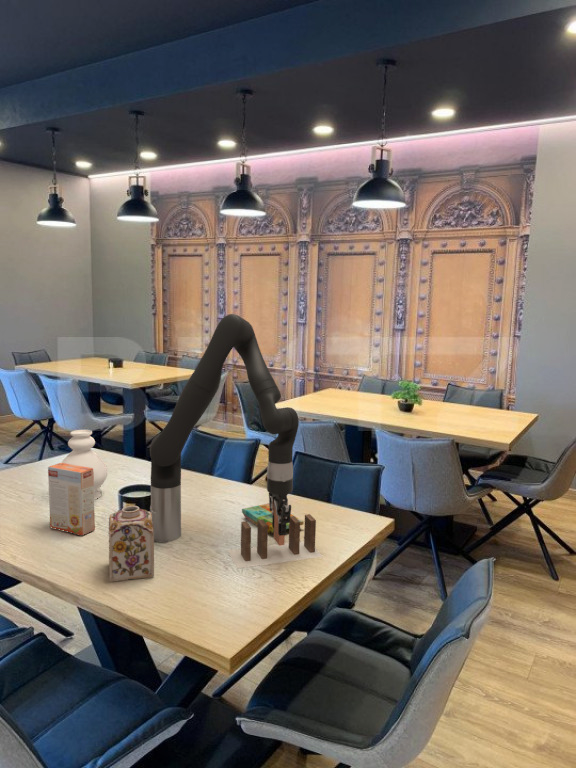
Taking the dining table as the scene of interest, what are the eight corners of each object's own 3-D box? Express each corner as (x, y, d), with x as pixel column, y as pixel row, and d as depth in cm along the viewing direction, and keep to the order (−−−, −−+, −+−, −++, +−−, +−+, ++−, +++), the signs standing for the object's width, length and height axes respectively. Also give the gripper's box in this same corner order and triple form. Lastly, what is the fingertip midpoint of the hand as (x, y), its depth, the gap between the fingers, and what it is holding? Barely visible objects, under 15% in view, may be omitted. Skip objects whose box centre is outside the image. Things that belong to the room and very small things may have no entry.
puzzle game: (270, 500, 201) (303, 518, 184) (270, 512, 201) (303, 532, 185) (242, 506, 194) (273, 526, 178) (241, 519, 195) (273, 540, 178)
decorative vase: (46, 500, 207) (44, 434, 203) (80, 486, 223) (78, 424, 220) (86, 508, 201) (84, 439, 197) (117, 493, 217) (116, 429, 213)
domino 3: (279, 545, 165) (279, 512, 163) (273, 538, 170) (274, 507, 168) (284, 544, 165) (285, 512, 164) (278, 538, 170) (279, 506, 169)
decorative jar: (154, 578, 152) (153, 514, 149) (109, 583, 148) (107, 518, 146) (152, 558, 163) (151, 499, 160) (109, 563, 160) (108, 502, 157)
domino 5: (309, 552, 168) (310, 520, 167) (303, 545, 173) (304, 514, 172) (314, 552, 169) (315, 520, 168) (308, 545, 174) (309, 514, 172)
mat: (237, 569, 158) (237, 568, 157) (227, 551, 169) (227, 550, 169) (323, 557, 166) (323, 556, 166) (308, 541, 177) (308, 540, 177)
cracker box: (96, 530, 182) (94, 467, 179) (82, 537, 176) (80, 472, 173) (63, 522, 188) (61, 461, 185) (49, 528, 182) (46, 466, 179)
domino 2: (261, 559, 163) (262, 526, 162) (257, 551, 168) (257, 519, 167) (267, 558, 164) (267, 525, 163) (262, 551, 169) (262, 519, 167)
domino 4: (294, 554, 167) (295, 522, 165) (288, 547, 171) (289, 516, 170) (299, 554, 167) (300, 522, 166) (293, 547, 172) (294, 515, 170)
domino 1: (245, 561, 162) (245, 528, 160) (240, 553, 166) (241, 521, 165) (250, 560, 162) (251, 527, 161) (246, 553, 167) (246, 521, 166)
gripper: (260, 469, 170) (259, 523, 172) (275, 484, 157) (274, 542, 159) (284, 467, 172) (283, 520, 175) (300, 482, 159) (299, 539, 162)
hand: (279, 530), depth 167 cm, fingers closed on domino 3, 5 cm apart
